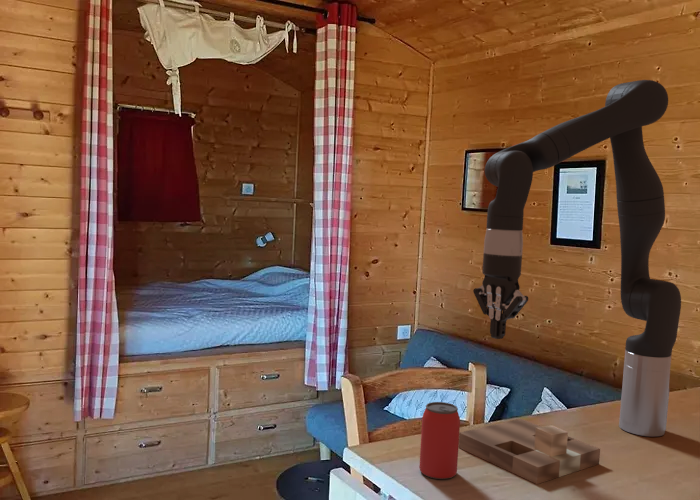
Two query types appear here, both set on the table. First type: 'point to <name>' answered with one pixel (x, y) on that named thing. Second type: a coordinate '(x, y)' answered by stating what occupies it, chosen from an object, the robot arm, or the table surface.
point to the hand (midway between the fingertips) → (497, 338)
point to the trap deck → (526, 451)
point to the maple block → (551, 440)
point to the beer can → (439, 440)
